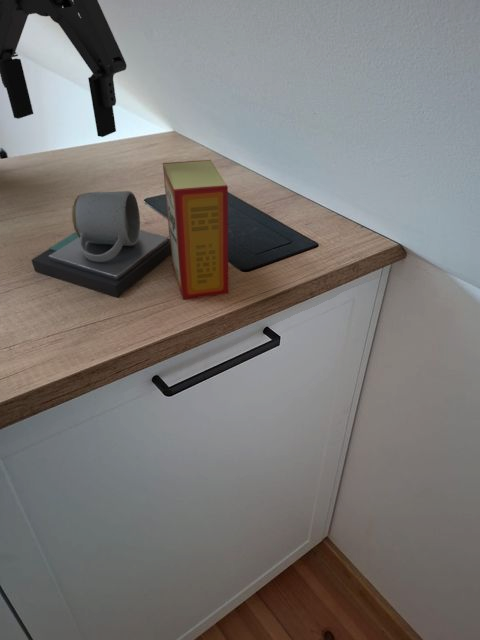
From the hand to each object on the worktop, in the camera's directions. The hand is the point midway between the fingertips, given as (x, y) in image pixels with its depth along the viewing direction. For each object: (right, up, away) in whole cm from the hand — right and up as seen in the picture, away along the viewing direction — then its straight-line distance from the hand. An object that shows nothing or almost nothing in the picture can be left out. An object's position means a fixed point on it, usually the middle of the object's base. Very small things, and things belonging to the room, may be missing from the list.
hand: (64, 124), depth 64 cm
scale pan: (+3, -14, +10) cm, 18 cm away
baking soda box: (+16, -19, +9) cm, 27 cm away
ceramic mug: (+3, -14, +10) cm, 17 cm away
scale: (+2, -16, +12) cm, 20 cm away
